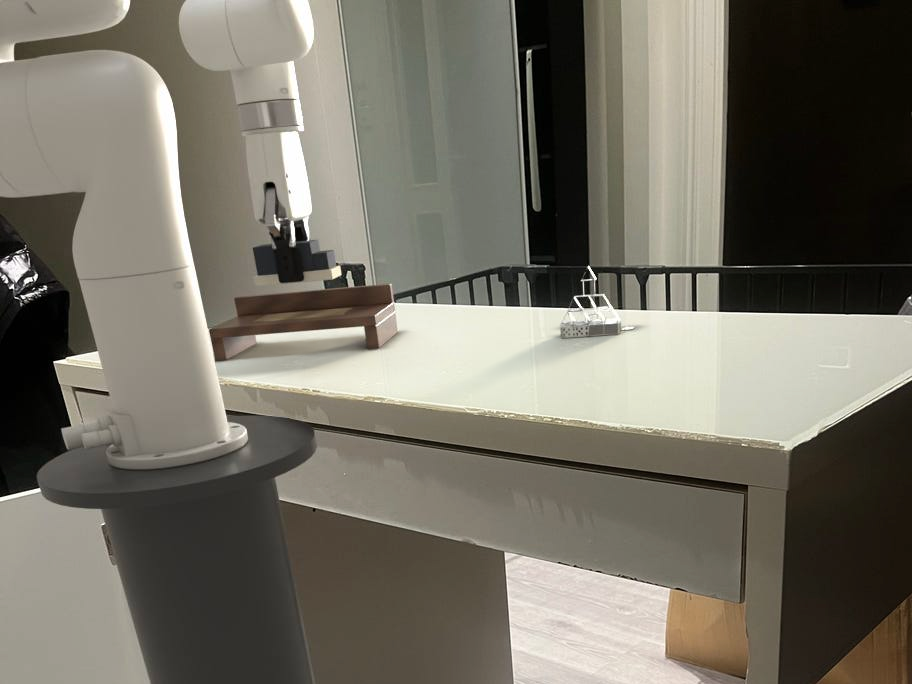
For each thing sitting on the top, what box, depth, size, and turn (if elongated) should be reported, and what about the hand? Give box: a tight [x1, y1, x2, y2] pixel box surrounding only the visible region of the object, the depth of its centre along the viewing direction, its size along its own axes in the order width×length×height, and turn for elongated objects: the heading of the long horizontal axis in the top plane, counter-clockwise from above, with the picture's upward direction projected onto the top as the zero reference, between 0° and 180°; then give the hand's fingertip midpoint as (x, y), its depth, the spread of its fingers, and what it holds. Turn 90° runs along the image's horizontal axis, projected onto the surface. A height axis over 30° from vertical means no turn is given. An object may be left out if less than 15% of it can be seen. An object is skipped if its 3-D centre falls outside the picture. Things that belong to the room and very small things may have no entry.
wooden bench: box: [208, 283, 399, 362], centre depth 126 cm, size 22×12×6 cm, turn 83°
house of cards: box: [559, 265, 635, 339], centre depth 116 cm, size 9×9×8 cm
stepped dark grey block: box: [252, 239, 342, 287], centre depth 123 cm, size 10×5×5 cm, turn 83°
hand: (297, 277), depth 124 cm, fingers closed on stepped dark grey block, 4 cm apart
